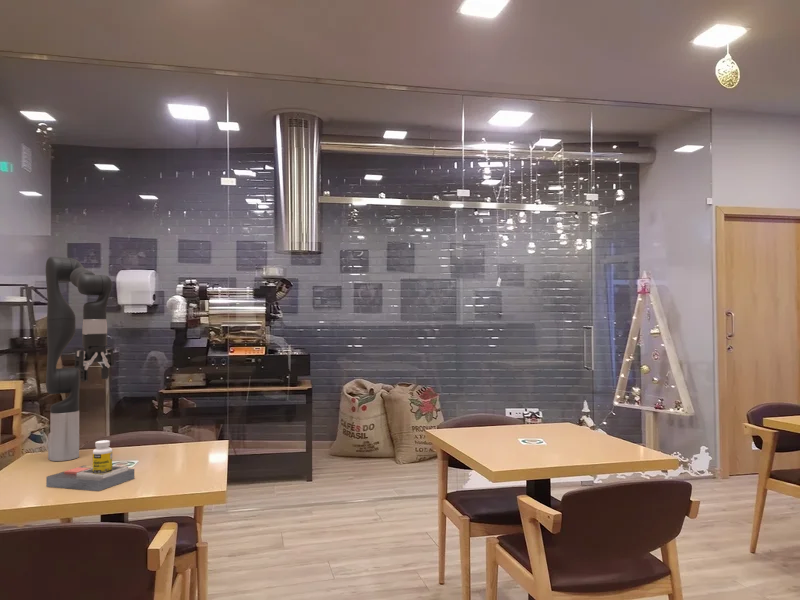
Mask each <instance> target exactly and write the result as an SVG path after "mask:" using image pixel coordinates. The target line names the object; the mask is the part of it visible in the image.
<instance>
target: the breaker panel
mask: <svg viewBox="0 0 800 600" xmlns="http://www.w3.org/2000/svg"><path fill="white" fill-rule="evenodd" d="M79 467H80V468H90V469H87V470H84V471H81V472H78V473H77V475H76V474H64V471H62V472H57V473H54V474H51V475H48V476H46V479H45V481H46V483H45V484H46V486H45V487H46V488H58V489H59V488H60V489H68V490H69V489H70V490H71V489H72V490H82V491H92V492H93V491H94V492H100V491H103V490H106V489H109V488H112V487H115V486H118V485H121V484H123V483H126V482H128V481H131V480H134V479H135V468H129V466H124V465H113V464H112V471H110V472H107V473H104V474H100V473H93V472H92V468H93V465H82V466H79Z"/></svg>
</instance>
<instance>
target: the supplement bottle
mask: <svg viewBox="0 0 800 600" xmlns="http://www.w3.org/2000/svg"><path fill="white" fill-rule="evenodd" d="M110 444H111V440H107V439H105V440H104V439H103V440H98V441H95V444H94V446H95V448H94V449H93V450H92V466H93V468H92V472H93V473H100V474H104V473H107V472H110V471H112V465H113V448H111V447H110V446H111V445H110Z"/></svg>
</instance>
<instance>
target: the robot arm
mask: <svg viewBox="0 0 800 600" xmlns="http://www.w3.org/2000/svg"><path fill="white" fill-rule="evenodd" d="M45 263H46V264H45V283H46V295H47V297H46V298H47V309H46V312H47V314H46V336H47V338H46V340H47V358H46V376H45V388H46V392H47V393H48V394H50V395H57V394H58V395H59V394H69V395H68V396H67V397H66V398H64V399H63V400H61V401H58V402H55V403H53V404H51V405H50V420H49V421H50V430H49V431H50V432H49V433H47V434H48V435H47V436H48V439H47V440H48V441H47V445H48V446H47V450H48V455H47V458H48V459H47V460H50V461H51V462H61V461H62V462H63V461H70V460H71V461H72V460H74V459H77V458H79V457H80V387H81V382H88V381H89V370H88V369H89V368H90V366H91V365H92V364H93V363H94V364H95V363H97V364H99V365H100V367H101V368H100V369H101V370H100V372H101V373H100V374H101V376H100V378H101V379H102V380H107V379H109V372H110V370H109V369H110V367H112V366H114V364H115V361H114V360H115V359H114V349H113V348H106V346H108V323H107V306H108V303H109V298H110V295H111V292H112V288H113V281H112V279H111V278H110V277H109V276H108V275H103V274H95V273H94V272H92V271H90V270H88V269H86V268H85V267H84V265H83V264H82V263H81V262H80V261H79V260H77V259H76V258H72V257H62V256H49V257H48V258H47V260H46V262H45ZM59 282H64V283H65V282H66V283H72V285H73V286H74V287H76V288H77V291H78V293H79V294H81V295H83V296H98V297H97V299H96V300H95V301H90V302H85V303H84V304H83V306H82V307H83V309H82V318H83V319H82V321H83V322H82V327H81V329H82V330H81V331H82V333H81V336H82V338H81V340H82V341H81V342H82V343H81V345H82V347H83V350H75V352H74V367H64V368H57V367H58V366H57V365H58V361H59V359H60V357H61V356H62V354H63V352H64V350H65V349H66V348H67V347H68V345H69V344H70V342H71V341H72V340H73V338H74V336H75V334H76V315H75V312H74V309H72V307H71V305H70V304H69V303H68V302H67V300H66V299H65V298H64V296H63V294H62V292H61V290H60V285H59Z"/></svg>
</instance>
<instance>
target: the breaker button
mask: <svg viewBox="0 0 800 600" xmlns="http://www.w3.org/2000/svg"><path fill="white" fill-rule="evenodd" d="M80 467H81V466H77V467H74V468H71V469H68V470H64V471H63V472H64V474H76V475H77V473H78V472H81V471H84V470H87V469H90V468H80Z"/></svg>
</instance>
